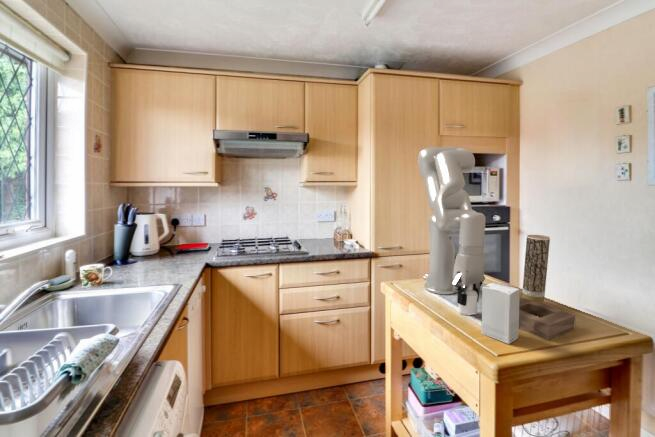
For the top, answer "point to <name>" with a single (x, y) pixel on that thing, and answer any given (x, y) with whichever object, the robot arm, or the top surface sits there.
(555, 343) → the top surface
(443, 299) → the top surface
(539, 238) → the bark textured log
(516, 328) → the skincare box
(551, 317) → the dropper stand
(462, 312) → the eye dropper bottle
